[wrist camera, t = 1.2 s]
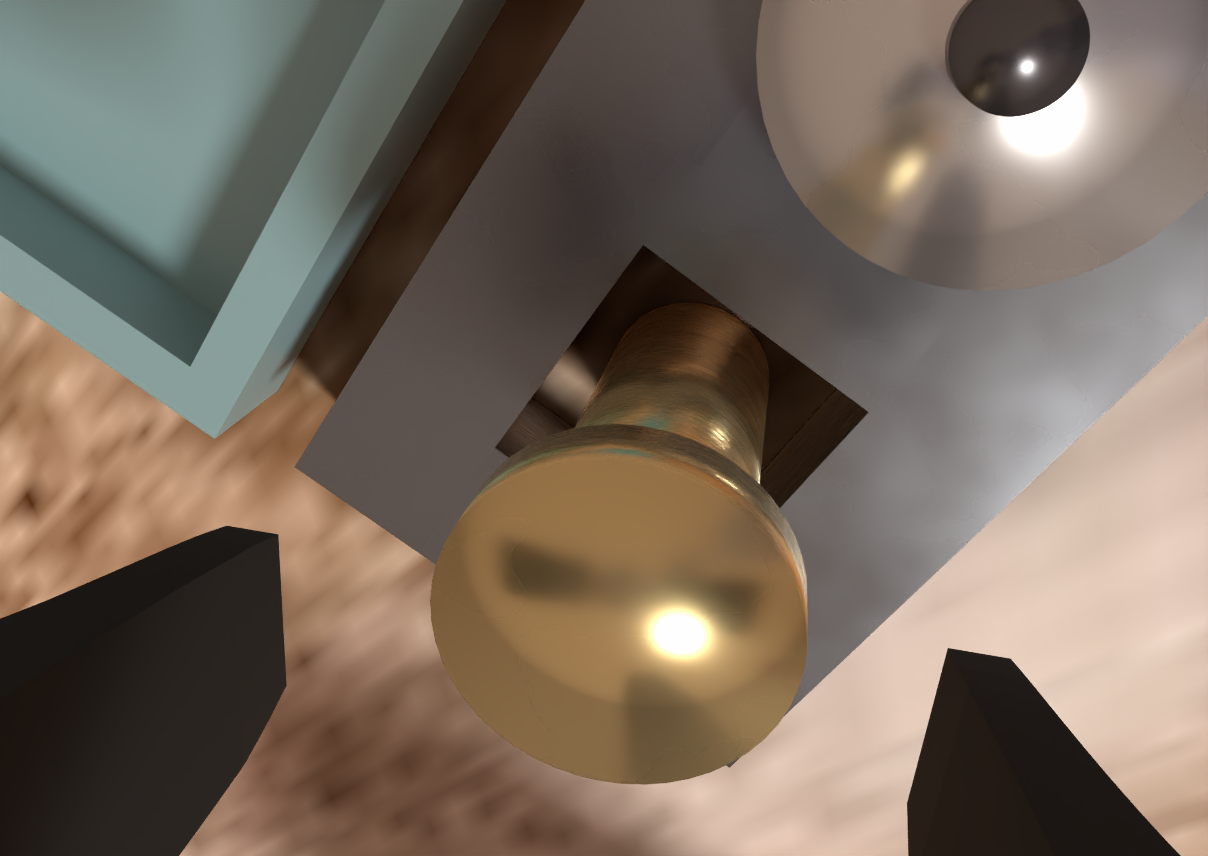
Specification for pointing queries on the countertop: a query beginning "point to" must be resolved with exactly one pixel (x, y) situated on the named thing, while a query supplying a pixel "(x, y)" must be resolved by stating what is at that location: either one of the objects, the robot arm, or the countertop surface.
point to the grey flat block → (819, 258)
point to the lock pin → (634, 569)
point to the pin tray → (209, 172)
